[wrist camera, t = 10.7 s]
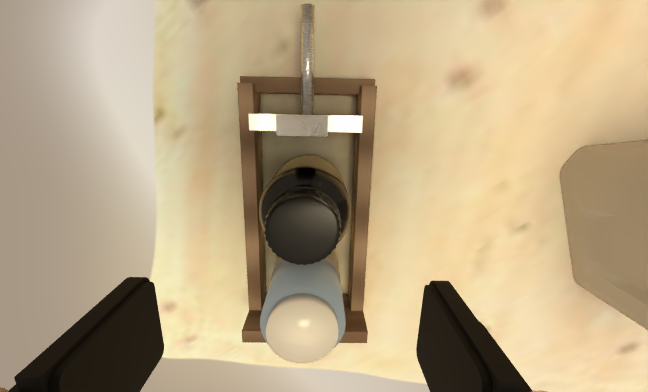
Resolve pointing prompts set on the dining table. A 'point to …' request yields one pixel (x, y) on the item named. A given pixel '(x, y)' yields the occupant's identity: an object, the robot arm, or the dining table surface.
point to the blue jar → (304, 310)
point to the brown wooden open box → (254, 190)
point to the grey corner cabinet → (609, 223)
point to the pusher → (305, 98)
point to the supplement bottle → (305, 210)
